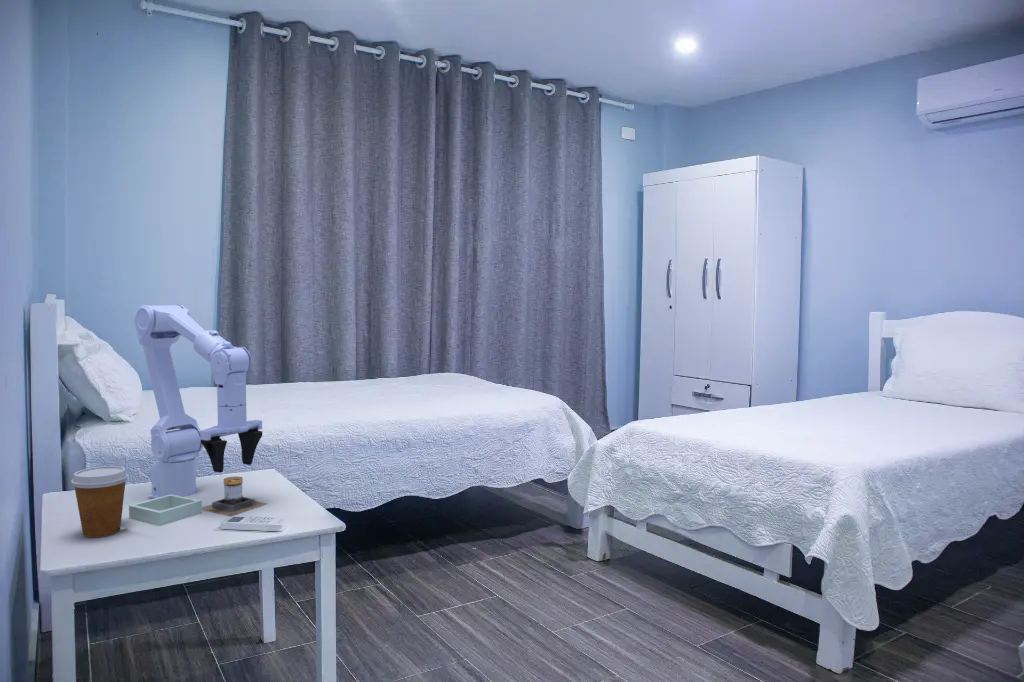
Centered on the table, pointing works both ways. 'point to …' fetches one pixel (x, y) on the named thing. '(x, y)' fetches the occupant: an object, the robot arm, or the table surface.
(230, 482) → the metal can
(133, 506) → the bin
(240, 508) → the socket plate
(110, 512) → the disposable coffee cup
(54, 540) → the table surface
